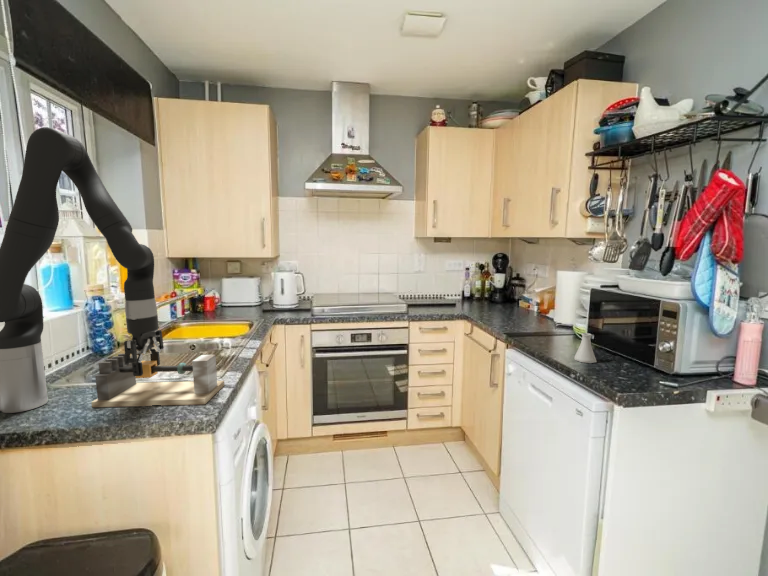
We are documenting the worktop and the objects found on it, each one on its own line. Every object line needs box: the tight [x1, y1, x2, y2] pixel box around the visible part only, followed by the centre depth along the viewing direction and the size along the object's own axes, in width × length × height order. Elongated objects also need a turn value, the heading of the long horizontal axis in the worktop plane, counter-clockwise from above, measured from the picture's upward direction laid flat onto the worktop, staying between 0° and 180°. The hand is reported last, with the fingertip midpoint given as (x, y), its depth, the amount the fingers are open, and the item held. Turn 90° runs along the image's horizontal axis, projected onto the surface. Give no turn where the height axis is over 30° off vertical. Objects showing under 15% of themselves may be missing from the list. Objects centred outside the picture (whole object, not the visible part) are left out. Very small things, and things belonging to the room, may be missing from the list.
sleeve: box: [136, 360, 159, 379], centre depth 108 cm, size 4×4×4 cm
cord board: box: [91, 353, 225, 408], centre depth 108 cm, size 30×14×12 cm, turn 92°
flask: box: [573, 332, 597, 364], centre depth 137 cm, size 7×7×10 cm
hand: (147, 370), depth 108 cm, fingers open, 8 cm apart
